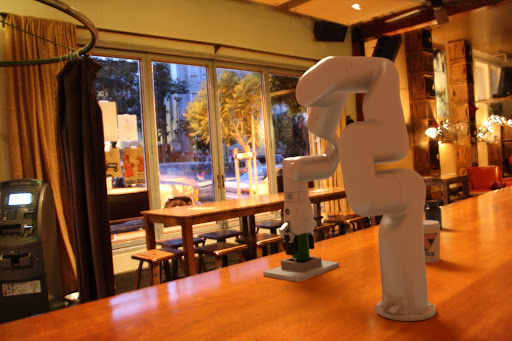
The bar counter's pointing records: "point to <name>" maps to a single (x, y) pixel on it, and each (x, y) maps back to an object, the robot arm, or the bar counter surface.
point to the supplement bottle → (433, 212)
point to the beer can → (301, 248)
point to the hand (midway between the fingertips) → (300, 251)
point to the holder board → (300, 269)
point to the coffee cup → (431, 240)
